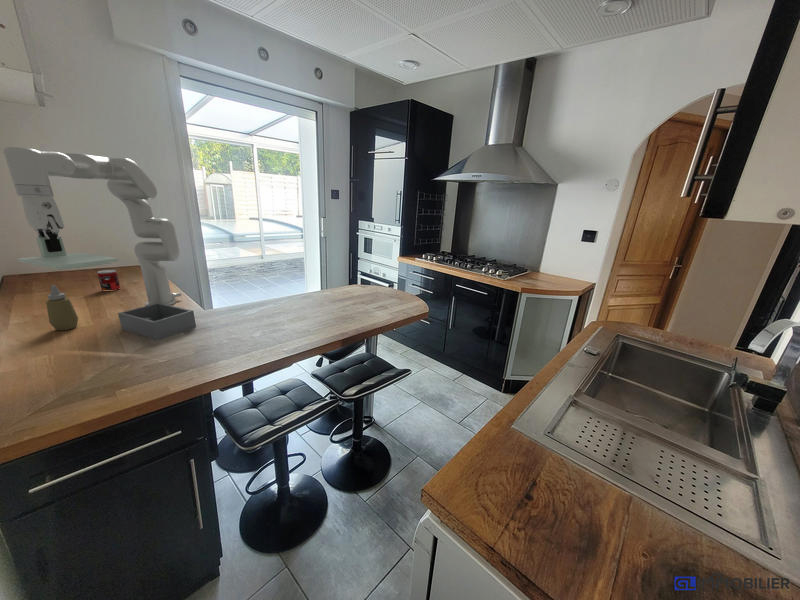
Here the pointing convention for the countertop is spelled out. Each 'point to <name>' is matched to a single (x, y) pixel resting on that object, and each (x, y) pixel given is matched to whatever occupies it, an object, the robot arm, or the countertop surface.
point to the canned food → (108, 279)
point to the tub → (157, 320)
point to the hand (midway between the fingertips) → (52, 250)
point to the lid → (65, 258)
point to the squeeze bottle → (60, 310)
